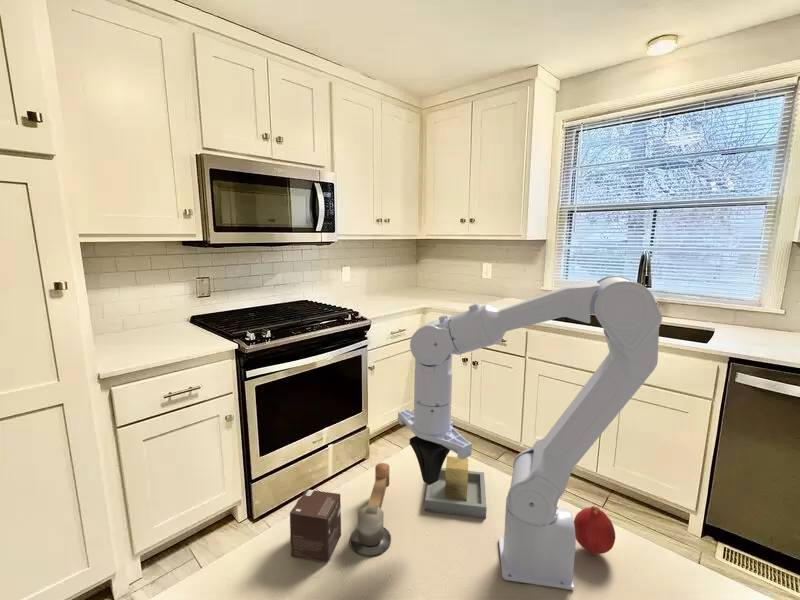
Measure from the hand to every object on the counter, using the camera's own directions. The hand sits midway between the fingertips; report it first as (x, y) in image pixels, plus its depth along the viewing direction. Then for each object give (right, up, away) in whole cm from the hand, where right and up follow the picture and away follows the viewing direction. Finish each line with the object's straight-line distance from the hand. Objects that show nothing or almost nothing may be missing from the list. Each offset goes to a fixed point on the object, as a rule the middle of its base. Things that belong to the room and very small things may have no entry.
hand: (430, 481), depth 62 cm
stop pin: (+6, -7, +11) cm, 15 cm away
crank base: (-9, -9, 0) cm, 13 cm away
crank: (-9, -8, +5) cm, 13 cm away
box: (-18, -10, -1) cm, 20 cm away
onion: (+25, -10, -2) cm, 27 cm away
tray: (+6, -8, +11) cm, 15 cm away
